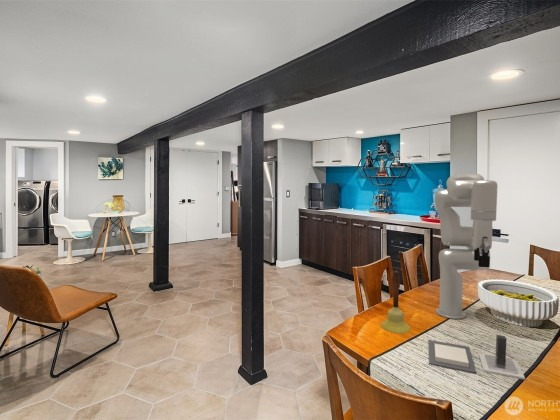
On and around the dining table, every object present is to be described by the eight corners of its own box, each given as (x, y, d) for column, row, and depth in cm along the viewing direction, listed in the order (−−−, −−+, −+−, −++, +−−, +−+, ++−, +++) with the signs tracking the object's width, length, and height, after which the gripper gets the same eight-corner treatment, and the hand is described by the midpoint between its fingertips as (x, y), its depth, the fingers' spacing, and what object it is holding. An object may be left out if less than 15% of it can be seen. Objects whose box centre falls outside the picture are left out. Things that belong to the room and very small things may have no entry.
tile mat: (428, 340, 125) (428, 339, 125) (469, 348, 119) (469, 346, 119) (429, 364, 108) (429, 362, 108) (476, 373, 102) (476, 372, 102)
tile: (434, 343, 118) (435, 356, 109) (465, 348, 114) (468, 363, 105) (434, 347, 118) (435, 361, 109) (465, 353, 114) (468, 367, 105)
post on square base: (484, 356, 112) (485, 329, 111) (511, 361, 108) (512, 334, 108) (488, 368, 105) (489, 339, 104) (517, 373, 101) (519, 344, 100)
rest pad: (478, 355, 114) (478, 353, 114) (515, 361, 109) (515, 360, 109) (484, 371, 104) (484, 369, 104) (525, 379, 99) (525, 377, 99)
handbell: (381, 331, 133) (381, 274, 131) (380, 319, 145) (380, 266, 143) (412, 335, 130) (413, 276, 128) (408, 322, 142) (409, 268, 140)
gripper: (467, 213, 119) (466, 257, 120) (474, 218, 103) (472, 269, 104) (490, 213, 116) (489, 259, 117) (501, 218, 100) (499, 271, 101)
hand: (481, 263), depth 111 cm, fingers open, 9 cm apart
